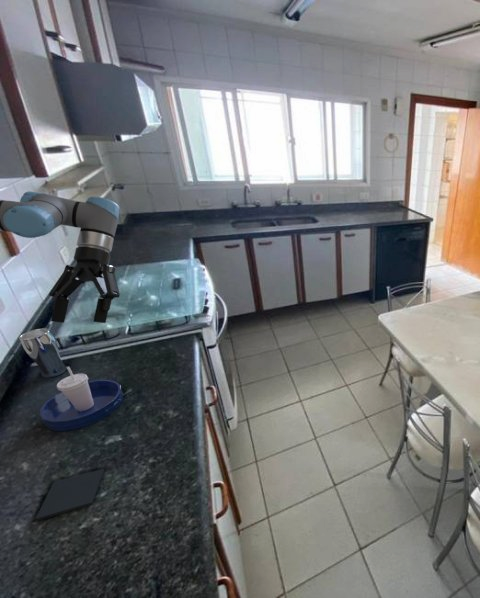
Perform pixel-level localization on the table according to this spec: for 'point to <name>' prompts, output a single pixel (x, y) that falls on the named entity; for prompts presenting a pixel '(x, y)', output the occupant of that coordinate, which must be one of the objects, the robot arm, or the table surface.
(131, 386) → the table surface
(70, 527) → the table surface
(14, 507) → the table surface
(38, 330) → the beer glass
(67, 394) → the smoothie
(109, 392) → the bowl
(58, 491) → the mat
